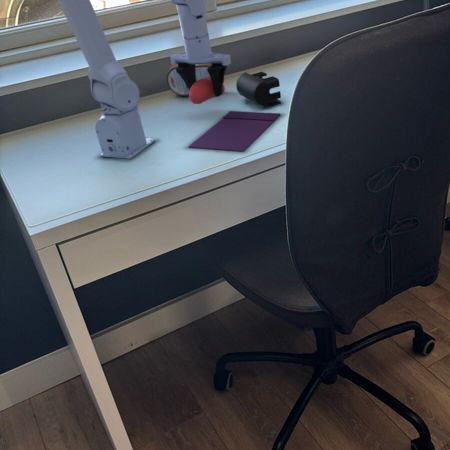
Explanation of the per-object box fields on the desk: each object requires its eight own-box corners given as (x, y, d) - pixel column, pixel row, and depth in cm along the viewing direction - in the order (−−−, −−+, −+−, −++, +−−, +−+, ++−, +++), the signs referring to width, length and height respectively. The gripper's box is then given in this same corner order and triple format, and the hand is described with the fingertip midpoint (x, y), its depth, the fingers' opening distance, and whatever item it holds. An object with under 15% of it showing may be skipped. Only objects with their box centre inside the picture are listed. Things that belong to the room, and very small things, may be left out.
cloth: (243, 151, 115) (243, 149, 115) (188, 147, 120) (188, 145, 119) (281, 115, 131) (280, 113, 130) (231, 112, 135) (230, 110, 135)
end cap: (238, 101, 141) (234, 75, 138) (263, 94, 144) (259, 68, 141) (257, 112, 134) (253, 84, 130) (282, 104, 137) (279, 76, 133)
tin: (226, 90, 149) (221, 59, 145) (224, 95, 147) (218, 62, 142) (172, 94, 151) (165, 63, 147) (168, 98, 149) (161, 66, 144)
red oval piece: (188, 105, 135) (179, 87, 129) (216, 82, 137) (208, 64, 132) (201, 116, 133) (193, 98, 127) (230, 93, 135) (222, 74, 129)
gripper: (232, 30, 126) (241, 90, 133) (177, 31, 131) (188, 88, 138) (217, 39, 120) (228, 100, 128) (160, 39, 126) (173, 98, 133)
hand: (206, 94), depth 133 cm, fingers closed on red oval piece, 6 cm apart
